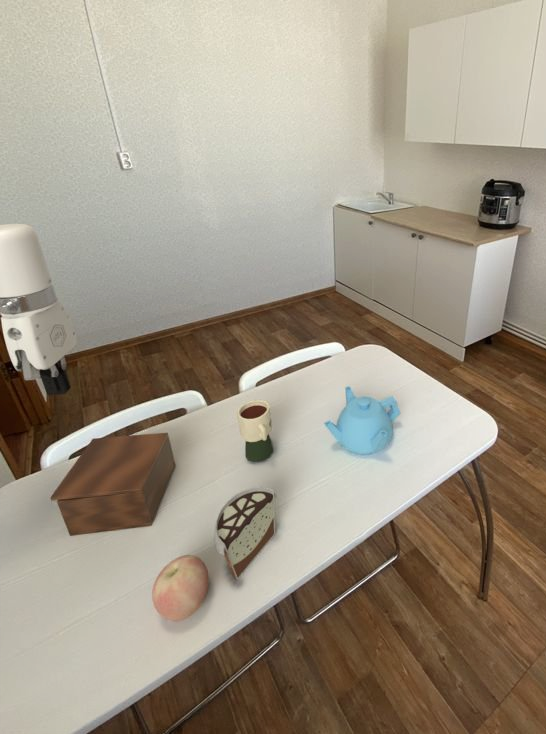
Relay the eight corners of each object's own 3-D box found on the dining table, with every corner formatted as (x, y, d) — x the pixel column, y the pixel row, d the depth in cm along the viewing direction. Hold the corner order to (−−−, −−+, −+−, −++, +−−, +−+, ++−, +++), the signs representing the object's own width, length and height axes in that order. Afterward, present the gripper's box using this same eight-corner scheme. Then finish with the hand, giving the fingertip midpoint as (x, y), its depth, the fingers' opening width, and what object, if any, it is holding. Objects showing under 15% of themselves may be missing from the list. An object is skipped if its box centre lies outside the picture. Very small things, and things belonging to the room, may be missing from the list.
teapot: (385, 469, 85) (386, 430, 82) (324, 453, 90) (321, 415, 86) (401, 423, 99) (402, 388, 95) (347, 411, 104) (346, 377, 100)
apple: (202, 567, 66) (195, 535, 64) (219, 605, 61) (212, 572, 58) (153, 602, 61) (142, 568, 59) (166, 646, 56) (155, 612, 53)
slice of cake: (257, 512, 76) (251, 474, 72) (280, 527, 73) (276, 488, 70) (205, 569, 66) (196, 528, 63) (230, 589, 63) (221, 547, 60)
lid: (50, 500, 69) (49, 497, 69) (93, 440, 82) (92, 438, 82) (141, 491, 71) (140, 489, 70) (168, 434, 84) (167, 432, 84)
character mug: (283, 461, 88) (278, 415, 83) (254, 477, 84) (247, 430, 79) (264, 434, 96) (259, 391, 92) (236, 447, 92) (229, 403, 88)
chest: (69, 536, 72) (56, 501, 69) (107, 473, 86) (97, 442, 83) (151, 526, 74) (141, 492, 71) (175, 465, 87) (168, 435, 84)
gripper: (20, 317, 57) (56, 417, 63) (77, 282, 71) (102, 367, 77) (-36, 321, 56) (6, 422, 62) (33, 284, 70) (62, 370, 76)
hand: (59, 391), depth 70 cm, fingers closed
